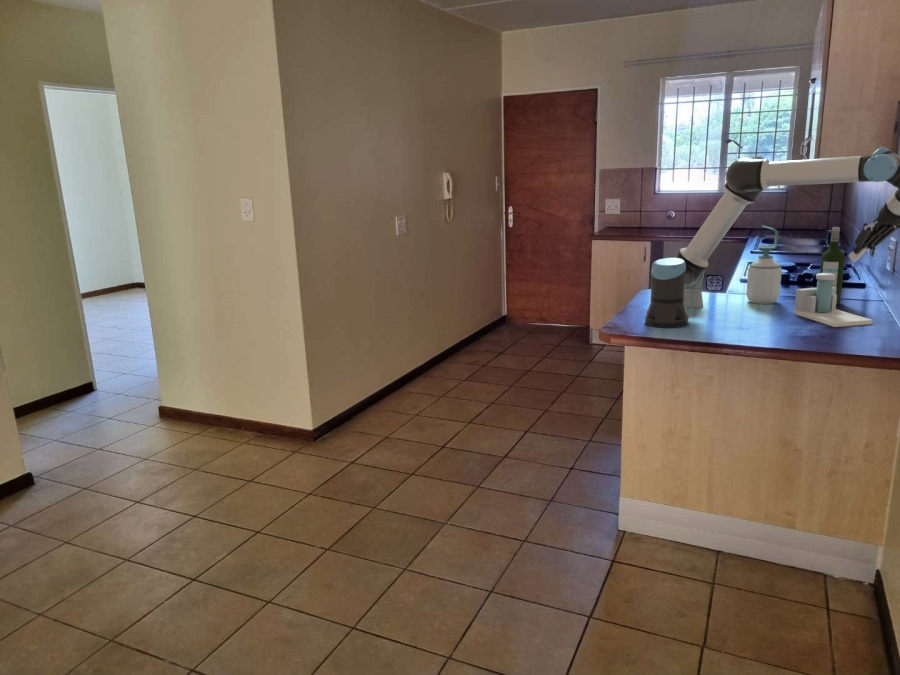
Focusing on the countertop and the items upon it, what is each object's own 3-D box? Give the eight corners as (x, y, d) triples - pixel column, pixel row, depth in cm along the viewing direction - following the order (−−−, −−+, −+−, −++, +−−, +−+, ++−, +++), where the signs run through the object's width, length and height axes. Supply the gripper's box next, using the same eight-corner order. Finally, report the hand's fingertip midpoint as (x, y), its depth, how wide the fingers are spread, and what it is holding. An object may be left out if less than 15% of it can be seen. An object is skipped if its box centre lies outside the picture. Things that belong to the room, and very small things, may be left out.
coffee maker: (693, 310, 258) (695, 265, 253) (673, 307, 264) (675, 263, 260) (713, 304, 267) (715, 260, 262) (693, 301, 273) (695, 259, 269)
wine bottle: (838, 301, 261) (846, 226, 253) (841, 305, 254) (849, 228, 246) (816, 300, 264) (823, 226, 256) (817, 304, 257) (825, 228, 250)
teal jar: (835, 312, 237) (839, 275, 233) (820, 313, 236) (823, 276, 233) (824, 308, 242) (827, 272, 239) (809, 309, 242) (812, 273, 238)
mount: (871, 323, 225) (875, 297, 223) (834, 327, 223) (837, 300, 221) (828, 311, 246) (830, 286, 244) (793, 313, 245) (796, 288, 242)
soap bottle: (744, 298, 274) (749, 224, 266) (776, 299, 270) (782, 223, 262) (747, 305, 263) (752, 227, 255) (781, 305, 259) (787, 226, 251)
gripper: (886, 219, 198) (841, 269, 217) (922, 215, 200) (874, 265, 219) (873, 201, 201) (830, 252, 221) (908, 198, 204) (862, 248, 223)
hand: (852, 258), depth 220 cm, fingers closed
